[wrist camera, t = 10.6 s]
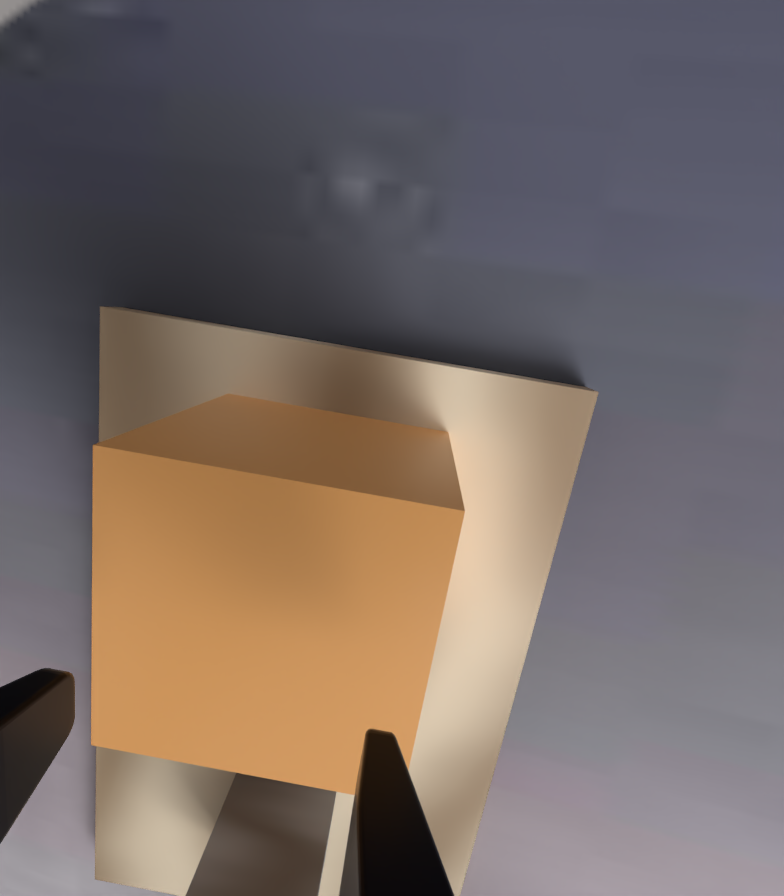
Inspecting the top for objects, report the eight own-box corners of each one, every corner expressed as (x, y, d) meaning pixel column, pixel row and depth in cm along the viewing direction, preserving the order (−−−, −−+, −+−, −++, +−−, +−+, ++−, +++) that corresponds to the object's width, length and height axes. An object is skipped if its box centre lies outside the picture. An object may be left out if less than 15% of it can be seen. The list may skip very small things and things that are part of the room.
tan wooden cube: (212, 589, 16) (90, 745, 10) (228, 393, 14) (92, 444, 8) (409, 625, 16) (401, 803, 10) (448, 431, 14) (464, 511, 8)
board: (110, 852, 20) (0, 1039, 15) (121, 307, 15) (-49, 300, 9) (444, 917, 20) (451, 1131, 15) (586, 387, 14) (680, 426, 9)
